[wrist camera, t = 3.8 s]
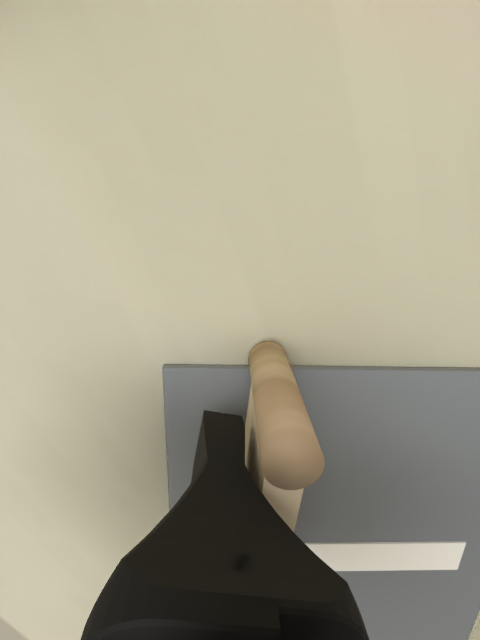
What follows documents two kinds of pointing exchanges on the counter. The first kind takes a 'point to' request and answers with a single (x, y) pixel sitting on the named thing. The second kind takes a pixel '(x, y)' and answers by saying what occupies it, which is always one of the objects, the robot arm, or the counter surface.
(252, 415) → the fence panel
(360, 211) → the counter surface
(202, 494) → the robot arm
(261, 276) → the counter surface
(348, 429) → the mat
